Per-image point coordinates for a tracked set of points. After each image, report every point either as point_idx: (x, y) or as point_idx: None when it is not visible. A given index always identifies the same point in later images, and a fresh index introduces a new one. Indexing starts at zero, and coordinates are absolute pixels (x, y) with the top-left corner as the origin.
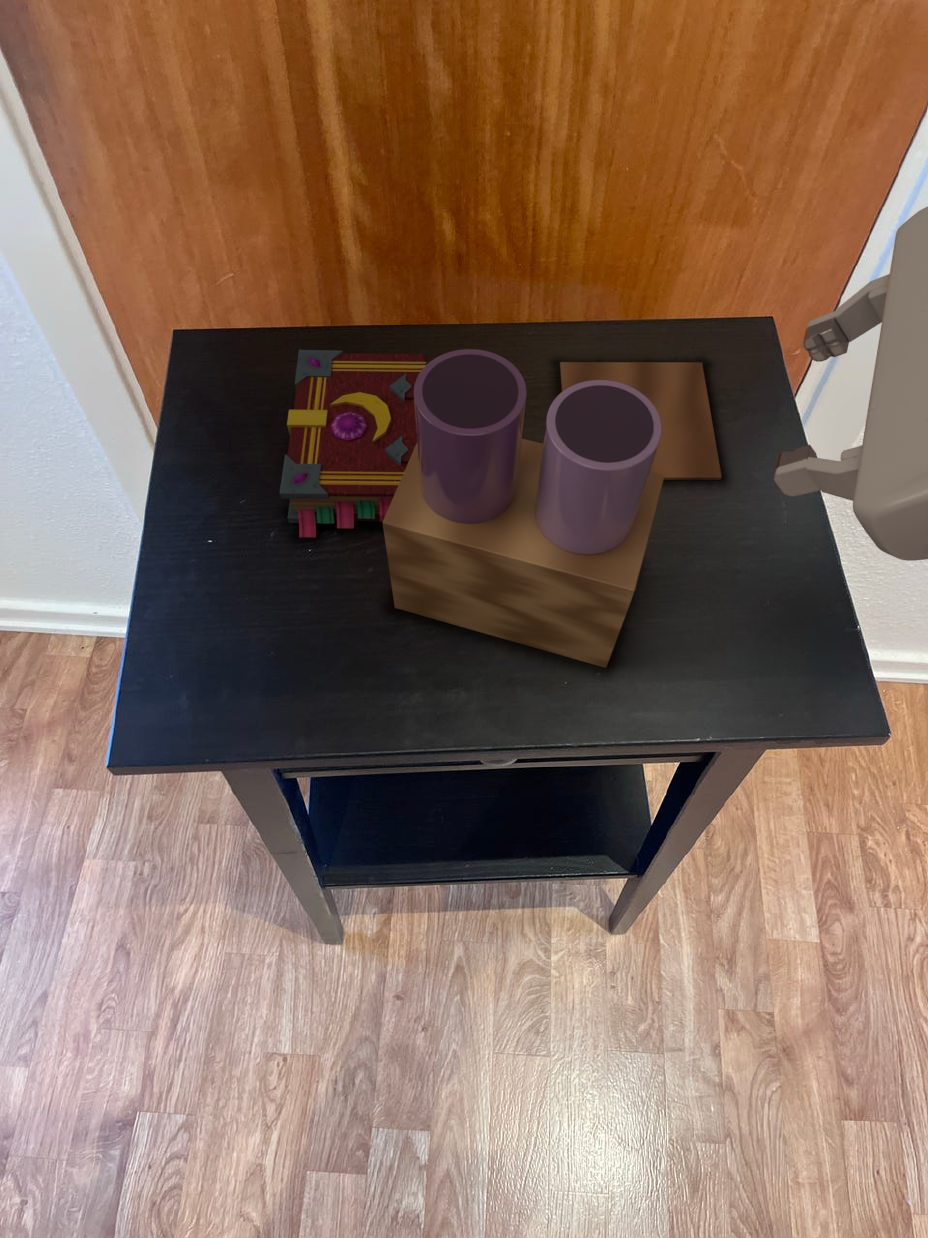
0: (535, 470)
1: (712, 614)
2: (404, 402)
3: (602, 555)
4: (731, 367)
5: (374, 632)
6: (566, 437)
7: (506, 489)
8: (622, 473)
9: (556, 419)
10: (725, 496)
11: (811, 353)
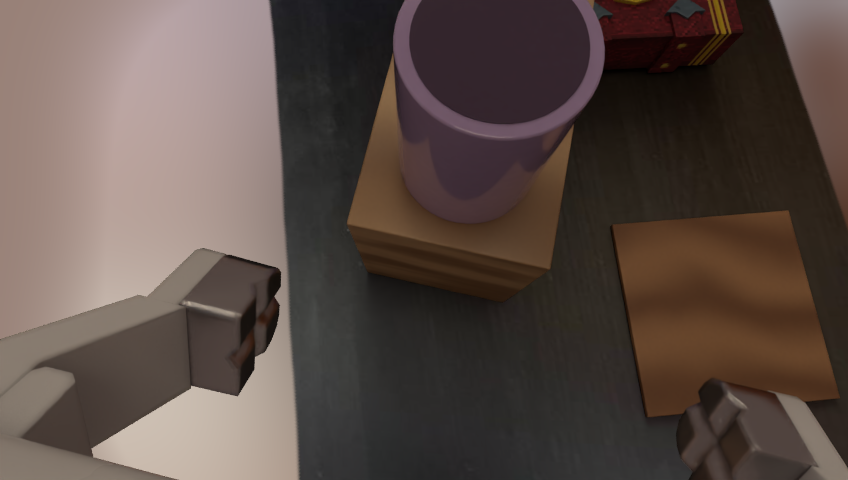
0: None
1: (446, 396)
2: (663, 15)
3: (399, 182)
4: (843, 442)
5: (392, 46)
6: None
7: None
8: (399, 80)
9: None
10: (621, 422)
11: (691, 411)
